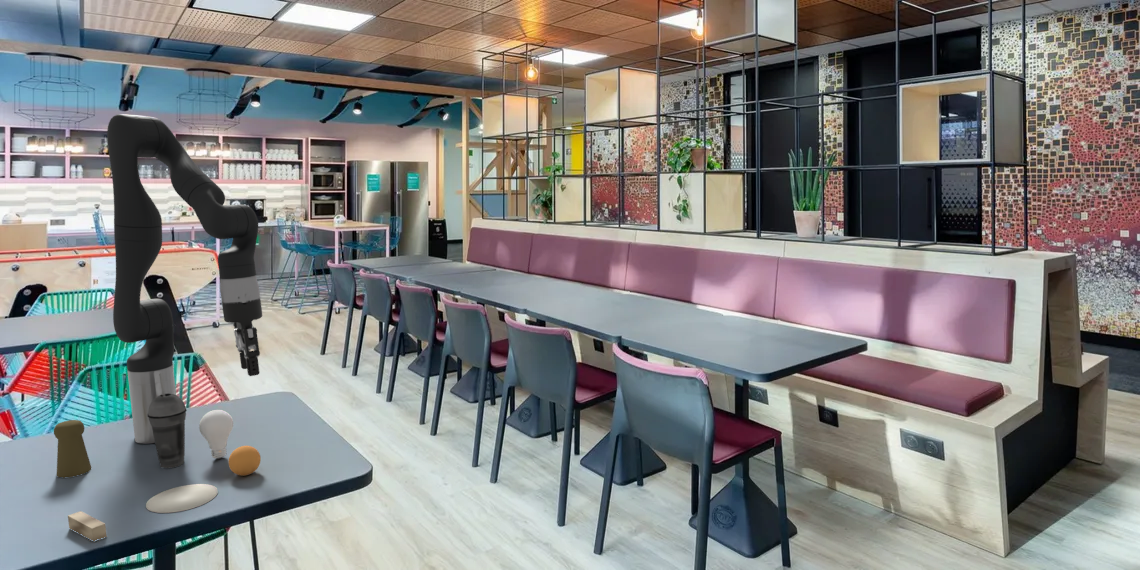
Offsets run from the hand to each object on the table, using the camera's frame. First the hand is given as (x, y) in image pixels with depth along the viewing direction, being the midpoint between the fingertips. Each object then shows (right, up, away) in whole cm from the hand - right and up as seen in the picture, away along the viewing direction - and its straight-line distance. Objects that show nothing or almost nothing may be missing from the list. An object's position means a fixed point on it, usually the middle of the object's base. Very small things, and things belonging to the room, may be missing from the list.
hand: (250, 371), depth 150 cm
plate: (-5, -22, -18) cm, 29 cm away
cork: (-35, -21, -5) cm, 41 cm away
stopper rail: (-14, -24, -31) cm, 42 cm away
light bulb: (-7, -20, +1) cm, 21 cm away
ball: (+2, -17, -8) cm, 19 cm away
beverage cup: (-16, -20, -1) cm, 26 cm away
